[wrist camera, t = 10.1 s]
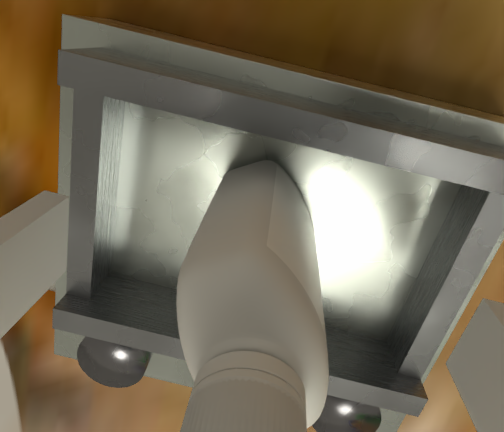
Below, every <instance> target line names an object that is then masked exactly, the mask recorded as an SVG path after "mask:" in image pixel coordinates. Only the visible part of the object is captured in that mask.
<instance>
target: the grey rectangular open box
mask: <svg viewBox="0 0 504 432" xmlns="http://www.w3.org/2000/svg"><path fill="white" fill-rule="evenodd" d="M58 85H60V128H59V171H58V194H61V195H65V196H69V211H68V238H67V266H66V272H65V273H64V274H63V275H62V276H61V277H60V278H59V279H58V280H57V281H56V282H55V283H54V284H53V285H52V286H51V287H50V288H49V289H48V290H51V291H55V292H56V299H55V307H54V308H53V328H54V329H55V341H54V354H56V355H60V356H64V357H69V358H73V359H77V360H78V362H79V365H80V367H81V368H82V370H83V371H84V372H85V373H86V374H87V375H88V376H89V377H90V378H92V379H93V380H95V381H96V382H98V383H100V384H103V385H106V386H109V387H116V388H122V387H128V386H131V385H134V384H136V383H137V382H138V381H140V380H141V378H142V377H143V376H147V377H151V378H155V379H160V380H164V381H168V382H172V383H176V384H180V385H184V386H189V387H193V385H194V380H193V378H192V376H191V373H190V371H189V368H188V366H187V363H186V360H185V357H184V353H183V349H182V346H181V341H180V336H179V330H178V322H177V306H176V299H177V283H178V276H179V272H180V268H181V265H182V263H183V261H184V259H185V256H186V254H187V252H188V249H189V247H190V245H191V243H192V240H193V238H194V236H195V234H196V232H197V230H198V228H199V226H200V224H201V222H202V220H203V217H204V215H205V213H206V211H207V209H208V207H209V205H210V203H211V201H212V199H213V197H214V195H215V193H216V191H217V189H218V187H219V185H220V183H221V181H222V179H223V177H224V175H225V174H226V173H227V172H229V171H230V170H233V169H236V168H239V167H242V166H245V165H249V164H252V163H255V162H259V161H263V160H271V161H273V162H275V163H277V164H278V165H279V166H280V167H281V168H283V169H284V171H285V172H286V173H287V174H288V175H289V177H290V178H291V179H292V181H293V182H294V183H295V185H296V186H297V188H298V190H299V191H300V193H301V195H302V197H303V199H304V201H305V203H306V205H307V208H308V210H309V213H310V216H311V220H312V223H313V228H314V233H315V240H316V249H317V258H318V267H319V276H320V285H321V294H322V303H323V313H324V322H325V331H326V341H327V351H328V365H329V381H328V390H327V397H326V401H325V405H324V408H323V410H322V413H321V415H320V417H319V418H318V419H317V421H316V422H315V423H314V424H313V425H312V426H313V427H314V429H315V430H316V431H317V432H397V430H398V428H399V426H400V424H401V423H402V421H403V419H404V417H405V415H406V414H408V415H413V416H417V417H418V416H419V415H420V413H421V411H422V409H423V408H424V406H425V404H426V402H427V401H428V398H427V395H426V392H425V390H424V387H423V383H424V381H425V380H426V378H427V376H428V374H429V372H430V371H431V369H432V367H433V365H434V363H435V362H436V360H437V358H438V356H439V354H440V353H441V351H442V349H443V347H444V345H445V344H446V342H447V340H448V338H449V336H450V335H451V333H452V331H453V329H454V327H455V326H456V324H457V322H458V320H459V318H460V317H461V315H462V313H463V311H464V310H465V308H466V306H467V304H468V302H469V301H470V299H471V297H472V295H473V293H474V292H475V290H476V288H477V286H478V284H479V283H480V281H481V279H482V277H483V275H484V274H485V272H486V270H487V268H488V266H489V265H490V263H491V261H492V259H493V257H494V256H495V254H496V252H497V250H498V248H499V247H500V245H501V243H502V241H503V239H504V117H503V116H499V115H495V114H491V113H487V112H483V111H479V110H475V109H471V108H467V107H463V106H459V105H455V104H451V103H447V102H443V101H439V100H435V99H431V98H427V97H423V96H419V95H414V94H410V93H406V92H402V91H398V90H394V89H390V88H386V87H382V86H378V85H374V84H370V83H366V82H362V81H358V80H354V79H350V78H346V77H342V76H338V75H334V74H330V73H326V72H322V71H318V70H314V69H310V68H306V67H302V66H298V65H294V64H290V63H286V62H282V61H278V60H274V59H270V58H266V57H262V56H258V55H254V54H250V53H246V52H242V51H238V50H234V49H230V48H226V47H222V46H218V45H214V44H210V43H206V42H202V41H198V40H194V39H190V38H186V37H181V36H177V35H173V34H169V33H165V32H161V31H157V30H153V29H149V28H145V27H141V26H137V25H133V24H129V23H125V22H121V21H117V20H113V19H109V18H98V17H88V16H78V15H67V14H62V43H61V50H58Z"/></svg>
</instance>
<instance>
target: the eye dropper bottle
mask: <svg viewBox="0 0 504 432" xmlns="http://www.w3.org/2000/svg"><path fill="white" fill-rule="evenodd" d="M176 306H177V322H178V330H179V336H180V341H181V346H182V349H183V353H184V357H185V360H186V363H187V366H188V368H189V371H190V373H191V376H192V378H193V380H194V385H193V389H192V392H191V396H190V399H189V403H188V406H187V410H186V413H185V417H184V420H183V424H182V427H181V431H180V432H307V428H308V427H310V426H312V425H313V424H314V423H315V422H316V421H317V419H318V418H319V417H320V415H321V413H322V410H323V408H324V405H325V401H326V397H327V390H328V381H329V365H328V351H327V341H326V331H325V322H324V313H323V303H322V294H321V285H320V276H319V267H318V258H317V249H316V240H315V233H314V228H313V223H312V220H311V216H310V213H309V210H308V208H307V205H306V203H305V201H304V199H303V197H302V195H301V193H300V191H299V190H298V188H297V186H296V185H295V183H294V182H293V181H292V179H291V178H290V177H289V175H288V174H287V173H286V172H285V171H284V169H283V168H281V167H280V166H279V165H278V164H277V163H275V162H273V161H271V160H263V161H259V162H255V163H252V164H249V165H245V166H242V167H239V168H236V169H233V170H230V171H229V172H227V173H226V174H225V175H224V177H223V179H222V181H221V183H220V185H219V187H218V189H217V191H216V193H215V195H214V197H213V199H212V201H211V203H210V205H209V207H208V209H207V211H206V213H205V215H204V217H203V220H202V222H201V224H200V226H199V228H198V230H197V232H196V234H195V236H194V238H193V240H192V243H191V245H190V247H189V249H188V252H187V254H186V256H185V259H184V261H183V263H182V265H181V268H180V272H179V276H178V283H177V299H176Z"/></svg>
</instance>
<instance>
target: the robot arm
mask: <svg viewBox="0 0 504 432" xmlns="http://www.w3.org/2000/svg"><path fill="white" fill-rule="evenodd" d="M68 211H69V196H65V195H61V194H57V193H53V192H49V191H43V192H41V193H40V194H38V195H37V196H35V197H33V198H32V199H30V200H28V201H27V202H25V203H24V204H22V205H20V206H19V207H17V208H16V209H14V210H12V211H11V212H9V213H7V214H6V215H4V216H3V217H1V218H0V339H1V338H2V337H3V336H4V335H5V334H6V333H7V331H8V330H9V329H10V328H11V327H12V326H13V325H14V324H15V323H16V322H17V321H18V320H19V319H20V318H21V317H22V316H23V315H24V314H25V313H26V312H27V311H28V310H29V309H30V308H31V307H32V306H33V305H34V304H35V303H36V302H37V301H38V300H39V298H40V297H41V296H42V295H43V294H44V293H45V292H46V291H47V290H48V289H49V288H50V287H51V286H52V285H53V284H54V283H55V282H56V281H57V280H58V279H59V278H60V277H61V276H62V275H63V274H64V273H65V272H66V266H67V238H68ZM446 365H447V368H448V370H449V372H450V374H451V376H452V378H453V381H454V383H455V385H456V387H457V389H458V391H459V393H460V396H461V398H462V400H463V402H464V404H465V406H466V408H467V411H468V413H469V415H470V417H471V419H472V421H473V424H474V426H475V428H476V430H477V432H504V303H500V302H496V301H492V300H488V299H484V298H483V299H482V301H481V303H480V305H479V306H478V308H477V310H476V312H475V313H474V315H473V317H472V319H471V320H470V322H469V324H468V326H467V327H466V329H465V331H464V332H463V334H462V336H461V338H460V339H459V341H458V343H457V345H456V346H455V348H454V350H453V352H452V353H451V355H450V357H449V359H448V360H447V362H446Z"/></svg>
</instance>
